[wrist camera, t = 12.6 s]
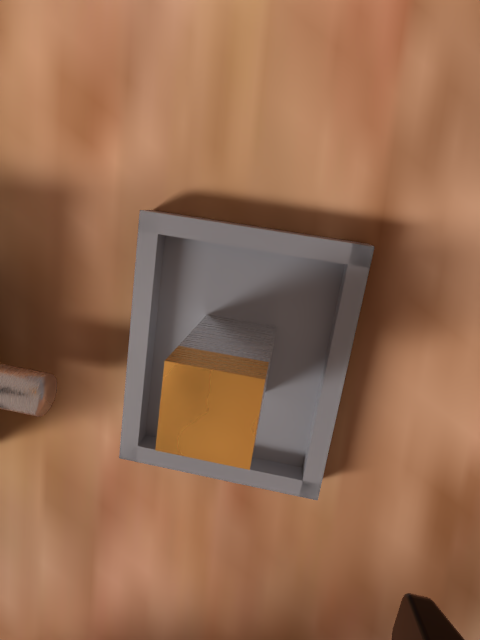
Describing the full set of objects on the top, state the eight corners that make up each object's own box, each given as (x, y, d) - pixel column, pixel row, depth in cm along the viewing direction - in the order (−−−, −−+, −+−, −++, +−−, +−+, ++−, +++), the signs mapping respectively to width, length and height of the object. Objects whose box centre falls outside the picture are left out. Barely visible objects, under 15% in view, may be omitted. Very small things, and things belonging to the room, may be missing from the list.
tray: (316, 481, 20) (317, 500, 19) (130, 442, 21) (119, 458, 20) (368, 243, 17) (374, 246, 16) (151, 209, 18) (139, 209, 17)
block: (265, 391, 19) (249, 469, 13) (198, 379, 19) (155, 450, 14) (276, 326, 18) (265, 379, 13) (206, 314, 19) (164, 361, 13)
